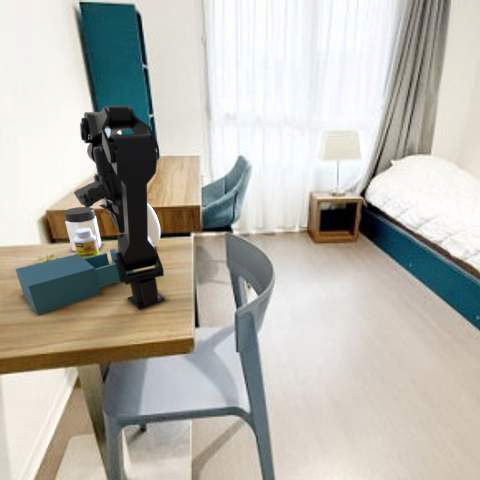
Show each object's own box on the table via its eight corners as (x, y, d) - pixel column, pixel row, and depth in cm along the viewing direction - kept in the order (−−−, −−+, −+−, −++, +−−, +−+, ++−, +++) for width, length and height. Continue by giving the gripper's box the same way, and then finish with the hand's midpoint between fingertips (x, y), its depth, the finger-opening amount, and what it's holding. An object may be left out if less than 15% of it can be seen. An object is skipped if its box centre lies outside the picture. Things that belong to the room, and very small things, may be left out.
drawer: (132, 262, 103) (129, 245, 101) (149, 274, 97) (146, 255, 94) (69, 280, 93) (63, 261, 91) (83, 295, 86) (78, 275, 84)
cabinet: (83, 278, 96) (77, 253, 93) (100, 294, 89) (94, 267, 85) (24, 295, 88) (15, 269, 84) (37, 314, 80) (28, 286, 77)
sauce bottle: (132, 247, 116) (122, 191, 108) (155, 242, 121) (147, 187, 113) (143, 255, 111) (133, 196, 103) (166, 248, 115) (159, 191, 107)
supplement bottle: (76, 268, 101) (68, 233, 97) (83, 260, 106) (75, 227, 102) (98, 267, 102) (90, 233, 98) (103, 259, 107) (96, 226, 103)
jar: (108, 244, 118) (100, 207, 113) (90, 253, 111) (82, 215, 106) (84, 241, 120) (76, 205, 115) (65, 250, 113) (56, 212, 108)
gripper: (60, 168, 87) (75, 230, 94) (89, 180, 75) (104, 251, 82) (107, 163, 94) (118, 221, 101) (140, 174, 82) (150, 239, 89)
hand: (121, 232), depth 93 cm, fingers closed
